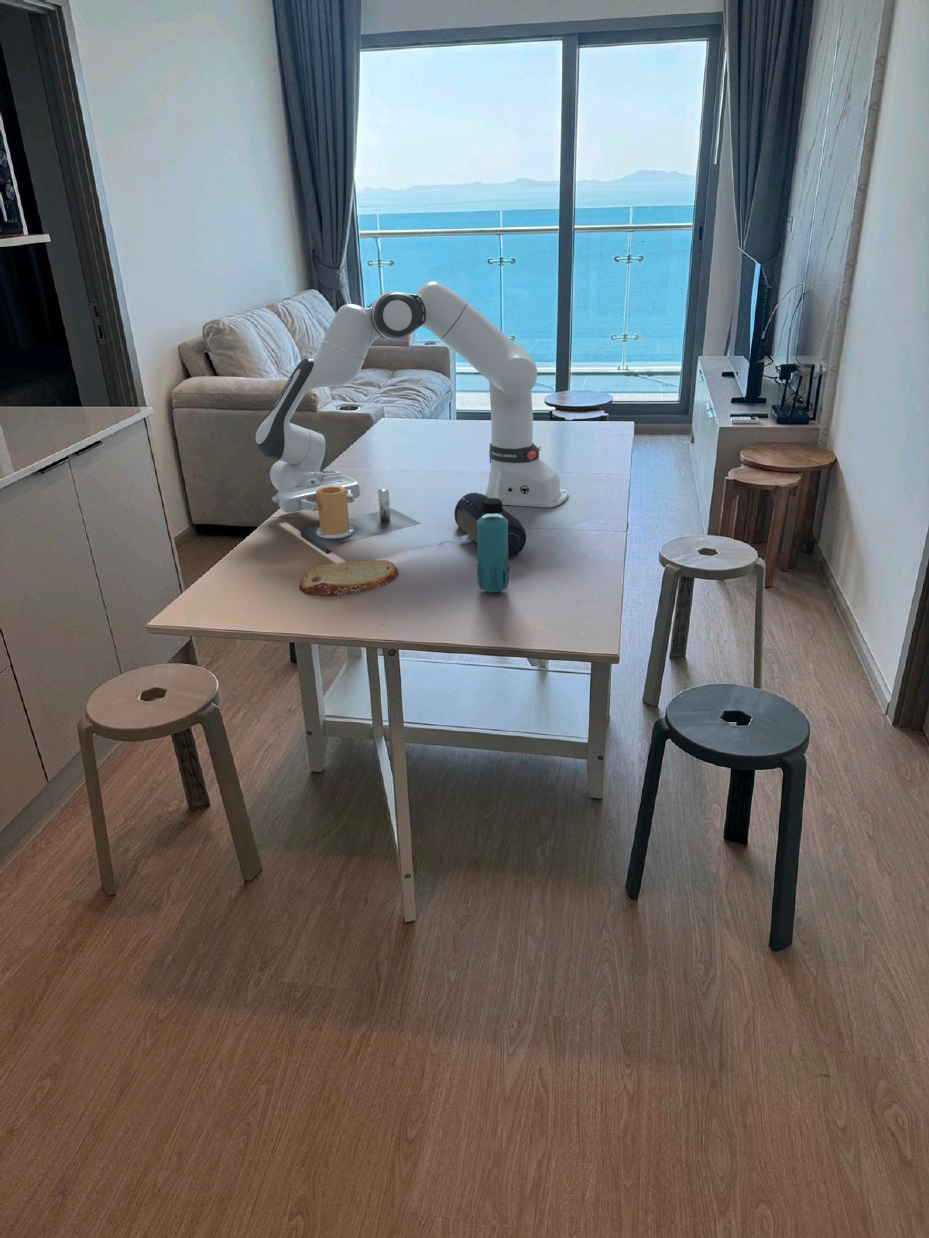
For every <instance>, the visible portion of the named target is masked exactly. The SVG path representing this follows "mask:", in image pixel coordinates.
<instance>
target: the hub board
mask: <svg viewBox="0 0 929 1238" xmlns="http://www.w3.org/2000/svg"><path fill="white" fill-rule="evenodd" d="M377 493H378V494H377V495H378V496H377V497H378V506H379V507H378V508H379V510H378V511H375V512H371V513H368V514H367V513H366V514H363V515H358V516H354V517H351V518H349V530H348V531H347V532H346V533H343V534H339V535H325V534H324V533H322V532H321V531H320V525H317V526H314V527H309V528H305V529H301V530H299V535H300V537H301V538H302V537H303V538H302V539H304V540H306V542H308V541H309V543H310V544H312V545H313V546H314V547H316V548H317V549H319V550H321V551H322V552H323V553H325V554H331V553H333V551H332V550H330V549H329V548H330V547H335V546H338V545H342V544H345V543H350V542H354V541H355V542H356V541H358V540H362V539H366V538H370V537H373V536H377V535H380V534H381V535H382V534H384V533H390V532H392V531H397V530H401V529H405V528H408V527H413V526H416V525H420V524H421V522H419V521H417V520H416V519H413V518H412V517H409V516H408V515H405V514H403V513H402V512H399V511H398V510H396V509H394V508H391V505H390V490H389V488H386V487H383V488H379V489H378V490H377Z"/></svg>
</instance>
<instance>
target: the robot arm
mask: <svg viewBox="0 0 929 1238" xmlns="http://www.w3.org/2000/svg"><path fill="white" fill-rule="evenodd" d="M421 327H422V328H424V329H427V330H429V331H430V332H431V333H432V334H434V336H436V337H437V338H438V339H440V340H441V341H442V342H443V343H444V344H446V345H447V347H448V348H450V349H452V350H453V351H454V352H455V353H457V354H458V356H460V357H461V358H463V359H464V360H465V361H466V362H467V363H468V364H469V365H470V366H472V367H473V368H474V369H475V370H476V371H477V372H478V373H480V375H482V376H483V377H484V378H485V379H486V380H488V383H489V400H490V401H489V404H490V415H491V416H490V417H491V419H490V422H491V423H490V425H491V427H490V429H491V430H490V436H491V439H490V440H491V441H490V444H489V453H488V455H489V464H490V468H489V469H490V470H489V478H488V484H487V488H486V491H485V496H486V497H488V498H497V499H500V500H501V501H502V506H515V507H517V506H519V507H533V508H547V509H549V508H554V507H556V506H559V505H561V504H562V503H564V502H565V501H566V500H567V499H568V498H569V492H568V490H567V489H564V488H561V484H560V477H559V474H558V472H557V471H556V470H554V469H553V468H552V467H550V466H549V465H548V464H547V463H546V462H544V460H542V459H541V458H540V451H542V449H541V448H542V446H541V445H539V446H537V445H536V444H535V443H534V442H533V441H534V439H533V435H534V434H533V433H534V432H533V429H534V426H533V425H534V410H533V400H532V399H533V398H532V390H533V388H534V387H535V384H536V381H537V380H538V379H537V378H538V368H537V364H536V362H535V360H534V359H533V358H532V356H530V354H529V353H528V352H527V351H526V350H525V349H524V348H523V346H520V345H519V344H517V343H515V342H514V341H513V340H512V339H511V338H509V337H508V336H507V335H506V334H505V333H504V332H503V331H501V329H499V327H497V326H496V325H495V324H494V323H493V322H492V321H491V320H489V319H488V318H487V317H486V316H484V315H483V314H482V313H481V312H480V311H478V309H476V308H475V307H474V306H473V305H472V304H470V303H469V302H468V301H466V299H464V298H463V297H461V295H459V294H457V293H456V292H455V291H453V290H452V289H450V288H449V287H447V286H445V285H444V284H442V283H439V281H435V280H434V281H427V282H426V283H424V284H423V285H421V286H420V287H419V288H418V289H417V291H416V292H415V293H409V292H402V291H387V292H385V293H382V294H381V295H380V296H378V298H376V300H374V301H373V302H372V303H370V304H369V305H368V306H366V307H364V306H361V305H358V304H354V303H347V304H344V305H343V304H342V306H340V308H338V310H337V311H336V313H335V314H334V316H333V318H332V320H331V322H330V324H329V325H328V328H327V329H326V331H325V334H324V337H322V338H323V339H322V341H321V343H320V346H319V347H318V349H317V350H316V351H315V352H314V354H313V353H312V355H311V356H310V357H307V358H303V359H301V361H300V362H299V363H298V364H297V366H296V367H295V368H294V370H293V371H292V372H291V375H290V376H289V378H288V380H287V381H286V382H285V385H284V387H283V388H282V390H281V392H280V394H279V395H278V397H277V398H276V400H275V402H274V404H273V406H272V407H271V409H270V410H269V412H268V414H267V415H266V416H265V417H264V419H263V420H262V422H260V423H259V425H258V427H257V429H256V430H255V434H254V435H255V436H254V443H255V446H256V448H257V450H258V451H259V453H260V454H261V456H262V457H264V458H266V459H271V460H276V461H275V463H273V465H272V466H271V467H270V471H269V477H270V481H271V483H272V486H273V487H274V488H275V489H276V490H277V491H278V492H277V493H275V495H274V496H272V497H271V501H273V502H274V503H276V504H278V507H279V508H280V509H281V510H282V511H283V512H284V513H288V514H289V513H295V512H300V511H306V510H308V511H311V512H316V511H318V509H319V508H318V502H317V493H316V491H317V490H318V489H320V488H322V487H327V486H341V487H343V488H345V489H346V494H347V504H350V503H351V504H352V503H354V502H355V499H357V498H360V496H361V487H360V483H359V482H358V481H357V480H356V479H354V478H352V477H349V476H347V475H345V474H341V472H340V471H339V470H325V469H326V465H327V463H328V460H329V456H330V450H329V449H330V448H329V444H328V442H327V439H326V437H325V435H324V434H322V433H320V432H317V431H314V430H313V429H310V428H307V427H303V426H300V425H298V424H294V423H292V422H290V421H291V419H292V416H293V415H294V413H295V412H296V410H297V408H298V407H299V405H300V403H301V401H302V400H303V398H304V397H305V395H306V394H307V393H308V392H309V391H311V390H313V389H317V388H325V387H327V388H328V387H330V388H332V387H335V388H337V387H342V386H345V385H348V384H350V383H352V382H353V381H354V380H356V378H357V377H358V375H359V374H360V372H361V370H362V367H363V364H364V363H365V360H366V357H367V354H368V352H369V350H370V347H371V345H372V344H373V343H374V342H375V340H377V339H379V338H382V339H386V340H391V341H397V340H402V339H404V338H407V337H408V336H410V335H412V334H413V333H414V332H416V331H417V329H419V328H421Z"/></svg>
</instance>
